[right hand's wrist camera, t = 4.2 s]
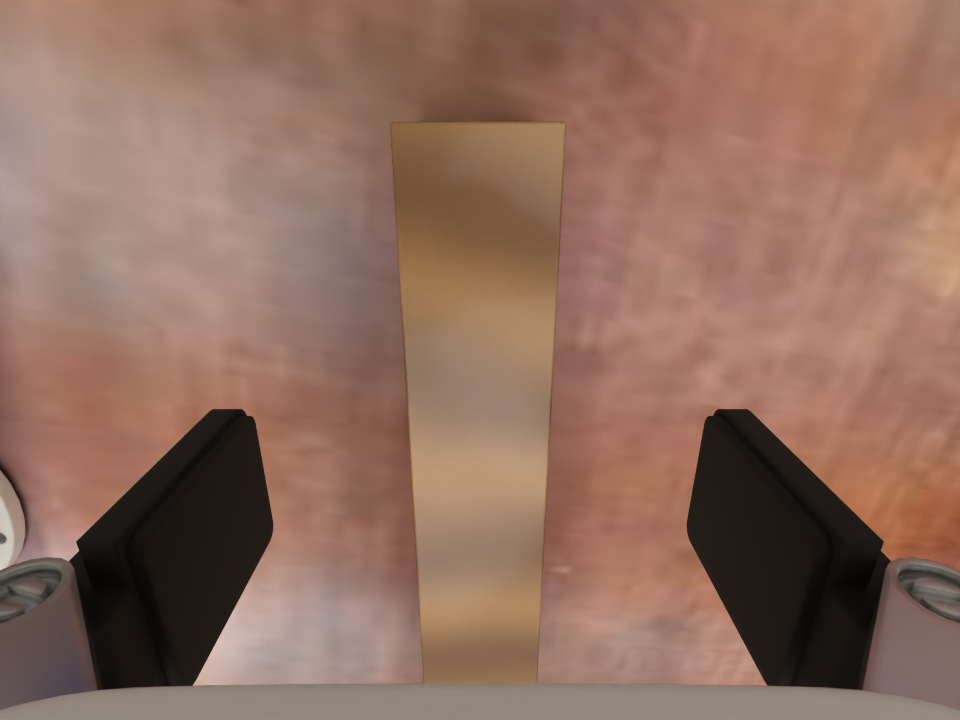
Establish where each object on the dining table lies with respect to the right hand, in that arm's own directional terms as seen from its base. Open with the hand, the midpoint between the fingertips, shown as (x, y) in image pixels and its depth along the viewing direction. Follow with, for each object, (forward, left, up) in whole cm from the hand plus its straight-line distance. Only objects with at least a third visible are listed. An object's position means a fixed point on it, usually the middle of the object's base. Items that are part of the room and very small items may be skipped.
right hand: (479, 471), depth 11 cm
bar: (+23, -5, -16) cm, 28 cm away
